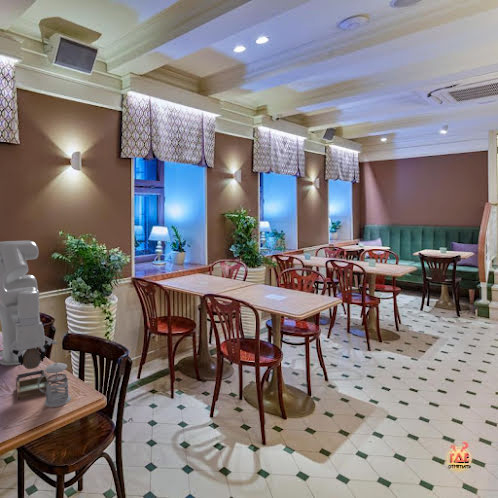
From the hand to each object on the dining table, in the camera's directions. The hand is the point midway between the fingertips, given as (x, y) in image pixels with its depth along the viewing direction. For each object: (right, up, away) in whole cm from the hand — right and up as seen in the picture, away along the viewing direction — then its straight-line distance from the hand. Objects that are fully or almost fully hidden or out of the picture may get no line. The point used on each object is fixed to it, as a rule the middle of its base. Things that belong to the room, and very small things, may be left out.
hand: (32, 361), depth 157 cm
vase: (0, -2, 0) cm, 3 cm away
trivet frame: (-7, -11, +12) cm, 18 cm away
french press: (+13, -14, -7) cm, 20 cm away
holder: (0, -13, +2) cm, 13 cm away
